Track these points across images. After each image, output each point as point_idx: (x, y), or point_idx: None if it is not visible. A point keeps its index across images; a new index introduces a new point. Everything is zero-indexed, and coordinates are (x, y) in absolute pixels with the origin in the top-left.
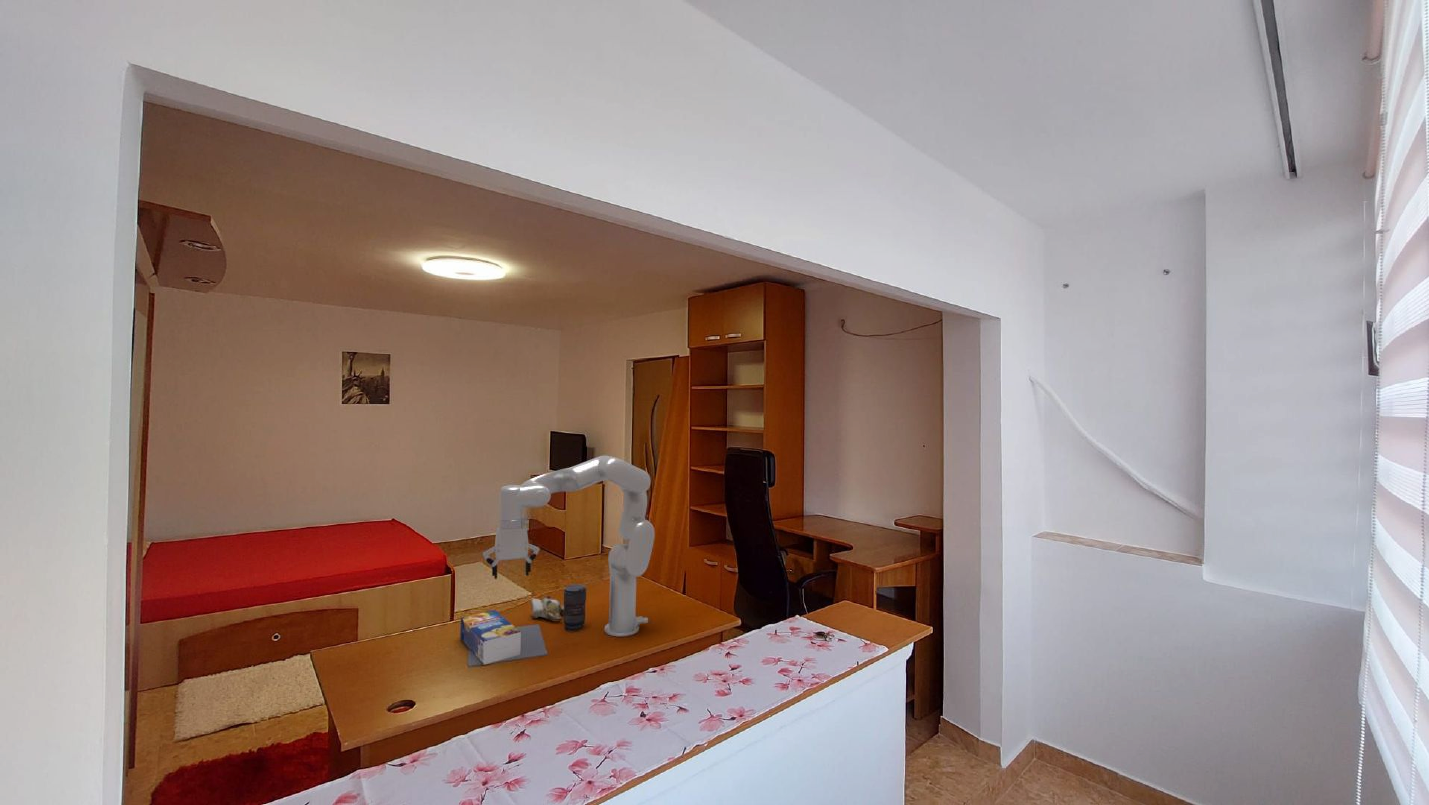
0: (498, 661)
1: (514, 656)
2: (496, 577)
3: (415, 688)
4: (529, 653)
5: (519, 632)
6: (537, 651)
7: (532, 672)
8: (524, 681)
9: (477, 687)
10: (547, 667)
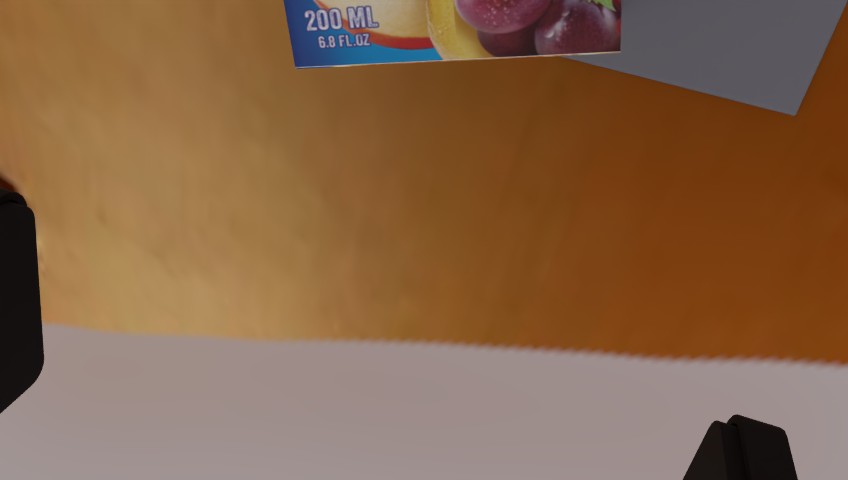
0: None
1: None
2: (15, 384)
3: (10, 80)
4: (688, 29)
5: (605, 53)
6: (756, 30)
7: (593, 275)
8: (515, 336)
9: (290, 252)
10: (698, 272)
